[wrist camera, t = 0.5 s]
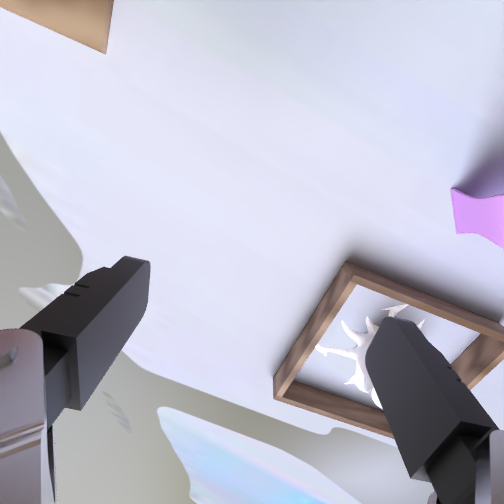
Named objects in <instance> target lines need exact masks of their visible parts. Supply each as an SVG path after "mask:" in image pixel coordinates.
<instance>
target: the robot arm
mask: <svg viewBox="0 0 504 504" xmlns="http://www.w3.org/2000/svg"><path fill="white" fill-rule="evenodd" d="M149 280H150V262H149V261H146V260H142V259H138V258H133V257H129V256H124V257H122V258H121V259H120V260H119V261H118V262H117V263H116V264H114V265H113V266H112V267H111V268H106V267H102V268H100V269H97V270H95V271H92V272H90V273H87V274H86V275H85V276H83V277H82V278H81V279H80V280H78V281H77V282H76V283H75V285H74V286H73V285H72V286H71V287H70V288H68V289H67V290H66V291H65V292H64V294H61V295H60V296H59V297H57V298H56V299H55V300H54V301H52V302H51V303H50V304H49V305H47V306H46V307H45V308H44V309H43V310H41V311H40V312H39V313H38V314H36V315H35V316H34V317H33V318H32V319H30V320H29V321H28V322H27V323H25V324H24V325H23V326H21V327H20V328H19V329H16V328H15V329H3V330H0V504H57V493H56V492H57V490H56V467H55V445H54V444H55V443H54V424H53V423H54V421H55V420H56V419H57V417H58V416H59V415H60V413H61V412H62V410H63V409H64V408H70V409H75V410H80V411H81V410H82V408H83V407H84V405H85V404H86V402H87V401H88V399H89V398H90V396H91V395H92V393H93V392H94V390H95V388H96V387H97V385H98V384H99V382H100V381H101V379H102V378H103V376H104V375H105V373H106V372H107V370H108V369H109V367H110V366H111V364H112V363H113V361H114V360H115V358H116V357H117V355H118V353H119V352H120V351H121V349H122V348H123V346H124V345H125V343H126V342H127V340H128V339H129V337H130V336H131V334H132V333H133V331H134V330H135V328H136V327H137V325H138V324H139V322H140V321H141V319H142V317H143V315H144V313H145V310H146V307H147V303H148V292H149ZM365 365H366V369H367V372H368V374H369V377H370V379H371V382H372V384H373V386H374V389H375V391H376V394H377V396H378V399H379V401H380V404H381V406H382V409H383V411H384V414H385V416H386V419H387V421H388V424H389V426H390V429H391V431H392V434H393V436H394V439H395V441H396V444H397V446H398V449H399V451H400V454H401V456H402V459H403V461H404V464H405V466H406V468H407V471H408V474H409V476H410V478H411V479H416V480H421V481H426V482H431V483H432V485H433V487H434V489H435V491H434V492H433V493H432V494H431V495H430V496H429V499H428V504H504V431H503V430H499V428H498V427H497V426H496V424H495V423H494V422H493V420H492V419H491V418H490V416H489V415H488V414H487V412H486V411H485V410H484V408H483V407H482V406H481V405H480V403H479V402H478V401H477V399H476V398H475V397H474V395H473V394H472V393H471V391H470V390H469V389H468V387H467V386H466V385H465V384H464V383H462V382H461V378H460V377H459V376H458V374H457V373H456V372H455V370H452V366H451V365H450V364H449V362H448V361H447V360H446V359H445V357H444V356H443V355H442V353H441V352H440V351H438V350H437V349H436V348H435V347H434V346H433V345H432V344H430V343H429V342H428V340H427V339H426V338H425V336H424V335H423V334H422V332H421V331H420V330H419V328H418V327H417V326H416V324H415V323H414V322H412V321H408V320H404V319H399V318H395V317H390V316H388V317H386V318H385V319H384V320H383V321H382V323H381V325H380V327H379V329H378V330H377V332H376V334H375V336H374V338H373V340H372V341H371V343H370V345H369V347H368V349H367V351H366V355H365Z"/></svg>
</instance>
